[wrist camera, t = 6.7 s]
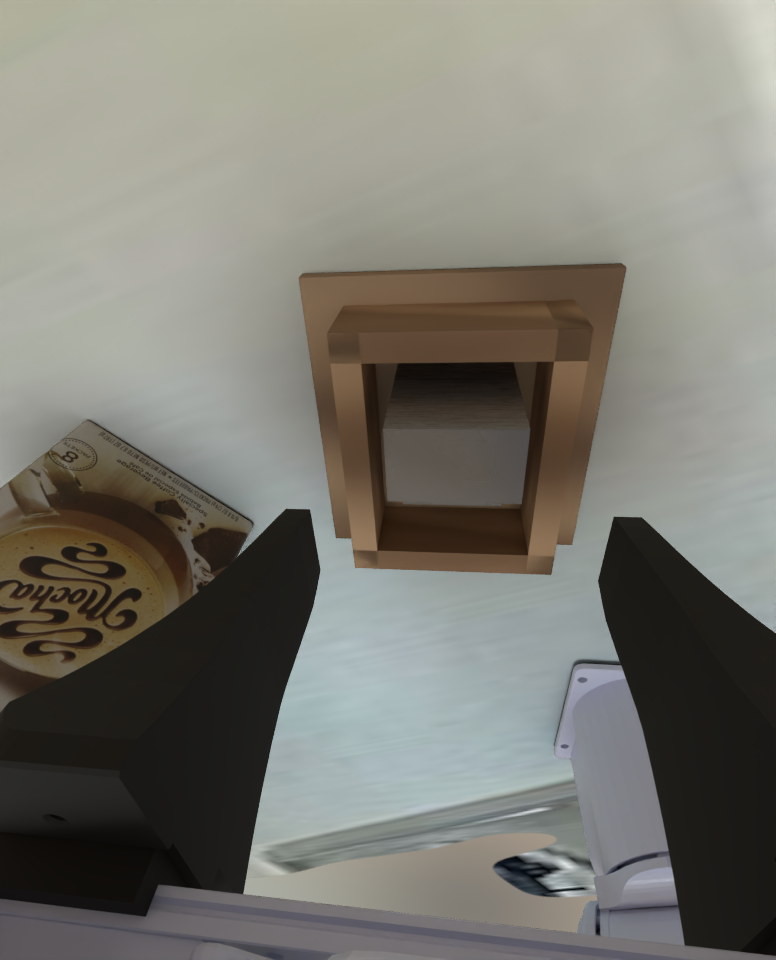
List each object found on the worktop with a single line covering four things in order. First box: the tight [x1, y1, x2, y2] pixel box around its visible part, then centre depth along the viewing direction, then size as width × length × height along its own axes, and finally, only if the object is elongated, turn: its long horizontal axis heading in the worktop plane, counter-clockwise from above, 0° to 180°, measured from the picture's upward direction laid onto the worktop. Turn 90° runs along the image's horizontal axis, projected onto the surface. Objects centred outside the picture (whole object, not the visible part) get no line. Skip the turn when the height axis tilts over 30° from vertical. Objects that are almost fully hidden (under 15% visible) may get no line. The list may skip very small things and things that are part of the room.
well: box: [299, 264, 626, 575], centre depth 20 cm, size 12×11×4 cm
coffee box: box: [0, 421, 253, 712], centre depth 19 cm, size 9×6×16 cm
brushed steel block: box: [383, 362, 530, 506], centre depth 18 cm, size 6×4×6 cm, turn 3°
